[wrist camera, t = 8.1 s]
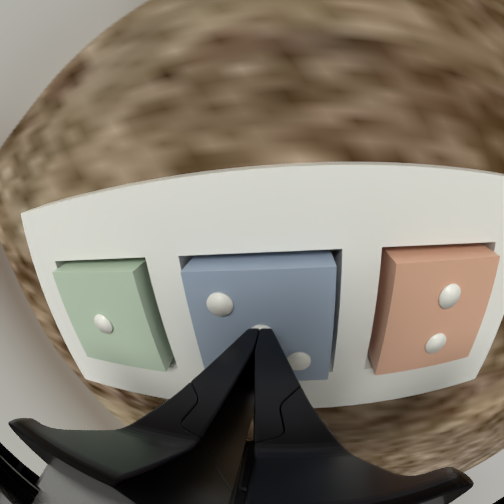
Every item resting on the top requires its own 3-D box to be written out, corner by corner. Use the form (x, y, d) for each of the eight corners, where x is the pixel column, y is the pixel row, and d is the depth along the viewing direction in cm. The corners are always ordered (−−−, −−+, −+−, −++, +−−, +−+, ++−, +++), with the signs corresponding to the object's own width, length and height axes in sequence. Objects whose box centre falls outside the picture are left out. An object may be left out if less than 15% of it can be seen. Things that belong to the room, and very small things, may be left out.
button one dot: (186, 333, 14) (165, 373, 11) (113, 326, 14) (86, 358, 12) (165, 244, 12) (130, 273, 9) (88, 249, 13) (50, 273, 10)
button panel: (459, 352, 12) (474, 378, 10) (102, 356, 16) (85, 378, 14) (497, 172, 8) (529, 180, 6) (51, 202, 12) (20, 213, 10)
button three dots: (322, 335, 12) (328, 381, 10) (222, 336, 13) (206, 379, 10) (324, 236, 11) (337, 268, 8) (205, 242, 12) (179, 273, 9)
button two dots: (444, 322, 11) (468, 358, 8) (361, 332, 12) (375, 377, 9) (463, 232, 10) (501, 257, 7) (371, 235, 10) (397, 265, 8)
